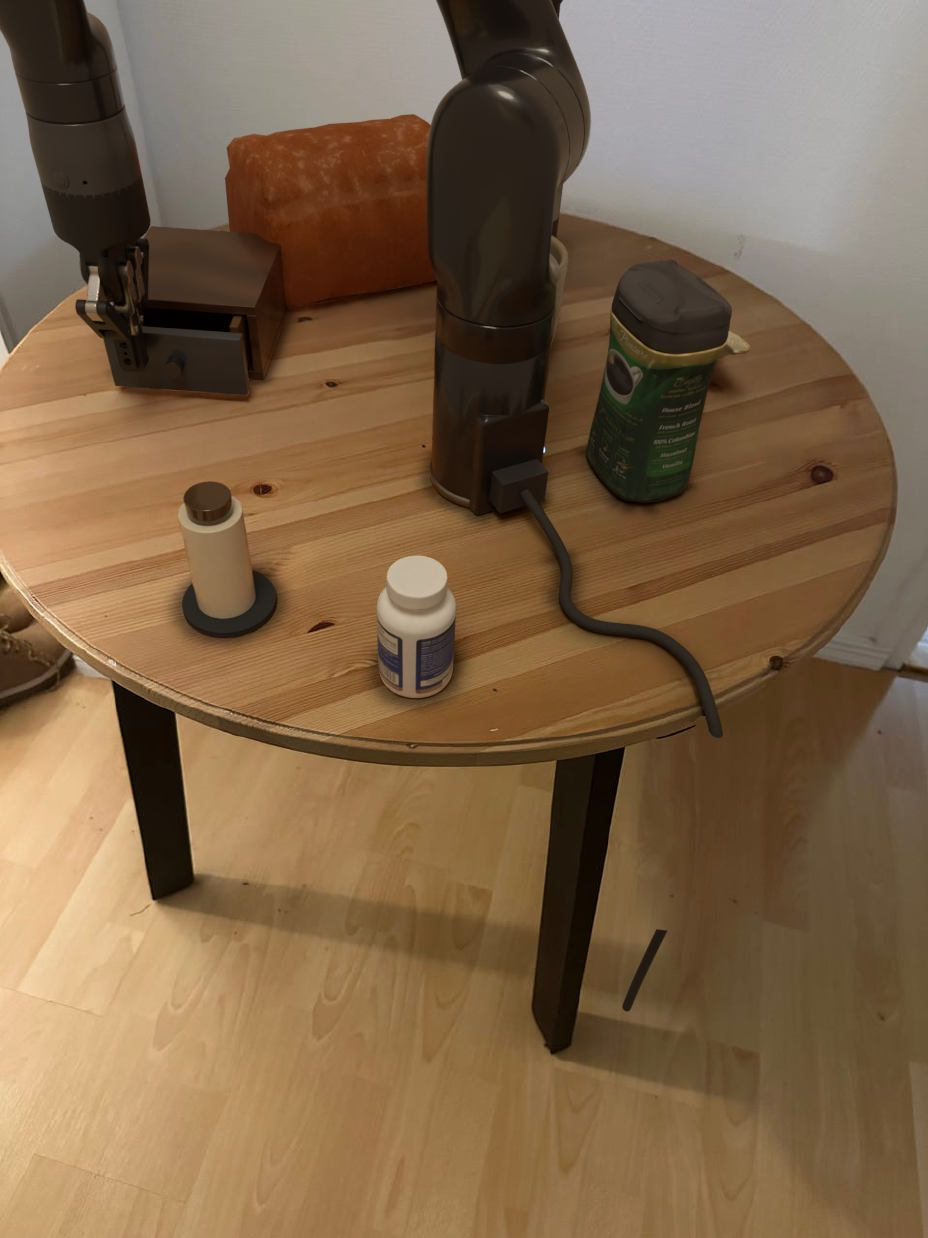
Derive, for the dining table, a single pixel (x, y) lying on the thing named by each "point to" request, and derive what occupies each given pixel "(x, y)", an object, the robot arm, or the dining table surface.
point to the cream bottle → (217, 550)
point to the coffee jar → (656, 380)
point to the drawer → (190, 353)
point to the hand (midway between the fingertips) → (135, 366)
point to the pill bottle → (416, 628)
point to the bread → (336, 205)
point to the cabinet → (221, 281)
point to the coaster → (235, 625)
